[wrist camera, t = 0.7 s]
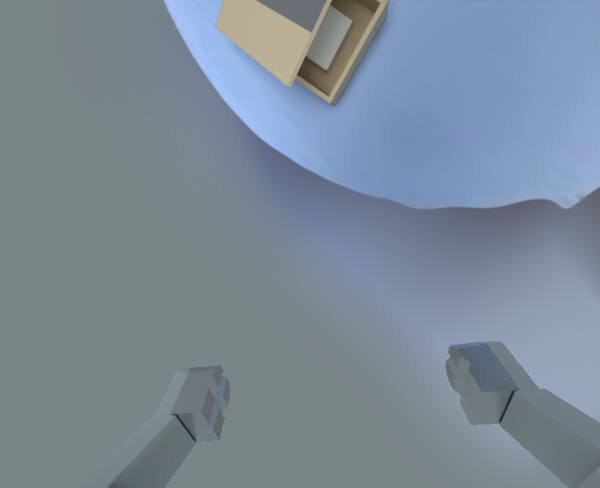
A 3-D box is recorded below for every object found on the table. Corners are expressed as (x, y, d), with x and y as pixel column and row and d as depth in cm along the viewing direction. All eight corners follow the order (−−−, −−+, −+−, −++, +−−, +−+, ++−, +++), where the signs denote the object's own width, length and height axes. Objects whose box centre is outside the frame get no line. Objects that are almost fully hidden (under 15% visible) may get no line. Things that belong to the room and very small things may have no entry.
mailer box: (386, 16, 35) (388, -1, 29) (335, 104, 41) (329, 103, 36) (273, -65, 34) (254, -97, 29) (238, 37, 40) (218, 26, 35)
